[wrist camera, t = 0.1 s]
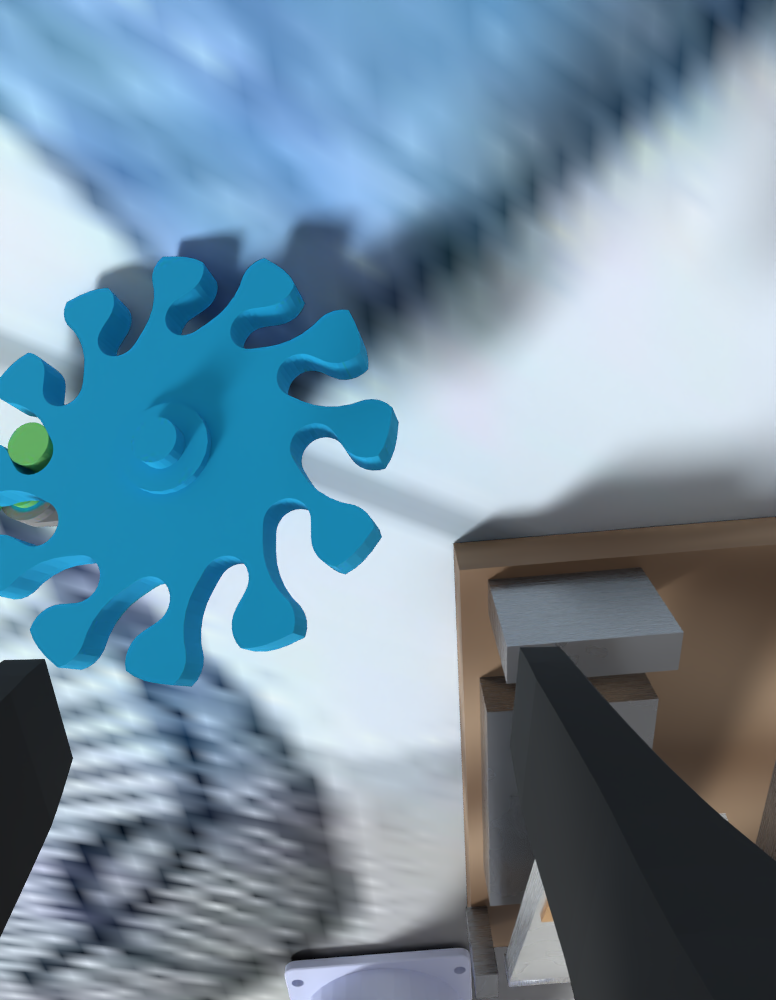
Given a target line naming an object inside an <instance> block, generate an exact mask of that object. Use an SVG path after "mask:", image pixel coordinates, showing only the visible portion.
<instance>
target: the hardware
mask: <svg viewBox="0 0 776 1000" xmlns="http://www.w3.org/2000/svg"><path fill="white" fill-rule="evenodd" d="M488 615H489V619H490V622H491V626H492V630H493V634H494V637H495V641H496V645H497V649H498V652H499V656H500V660H501V664H502V667H503V671H504V675H505V676H494V677H482V678H479V682H480V729H481V776H482V823H483V867H484V873H485V879H486V885H487V891H488V897H489V903H490V906H498V905H511V904H521V903H522V900H523V896H524V893H525V890H526V886H527V883H528V880H529V876H530V873H531V870H532V867H533V863H534V860H535V857H534V853H533V850H532V846H531V843H530V840H529V836H528V833H527V829H526V826H525V822H524V819H523V815H522V812H521V807H520V802H519V796H518V791H517V785H516V780H515V774H514V768H513V762H512V756H511V750H510V739H511V729H512V719H513V709H514V699H515V689H516V679H517V669H518V660H519V650H520V647H556V646H559V647H560V648H561V649H562V650H563V651H564V652H565V653H566V654H567V655H568V656H569V657H570V659H571V660H572V661H573V662H574V663H575V664H576V666H577V667H578V668H579V669H580V670H581V671H582V673H583V674H584V675H585V676H586V677H587V678H588V680H589V681H590V682H591V683H592V684H593V685H594V687H595V688H596V689H597V690H598V691H599V692H600V693H601V695H602V696H603V697H604V698H605V699H606V700H607V701H608V702H609V704H610V705H611V706H612V707H613V708H614V709H615V710H616V711H617V713H618V714H619V715H620V716H621V717H622V718H623V719H624V720H625V721H626V722H627V723H628V725H629V726H630V727H631V728H632V729H633V730H634V731H635V732H636V733H637V734H638V735H639V736H640V737H641V738H642V739H643V740H644V741H645V742H646V743H647V744H648V746H649V747H650V748H651V749H652V747H653V739H654V731H655V724H656V716H657V708H658V701H659V698H658V696H657V694H656V693H655V691H654V689H653V687H652V685H651V683H650V681H649V679H648V678H647V676H646V674H645V673H646V672H658V671H670V670H678V668H679V661H680V654H681V647H682V640H683V633H684V632H683V630H682V629H681V627H680V626H679V624H678V623H677V621H676V620H675V618H674V617H673V615H672V614H671V612H670V611H669V609H668V608H667V606H666V604H665V603H664V601H663V600H662V598H661V597H660V595H659V594H658V592H657V591H656V589H655V588H654V586H653V585H652V583H651V581H650V580H649V578H648V577H647V575H646V574H645V572H644V571H643V569H642V568H641V567H637V568H625V569H613V570H600V571H588V572H576V573H564V574H552V575H540V576H527V577H515V578H503V579H491V580H488ZM755 844H756V845H757V846H758V847H759V848H760V849H762V850H763V851H764V852H765V853H767V854H768V855H769V856H770V857H771V858H773V859H774V860H775V861H776V761H775V765H774V769H773V773H772V778H771V782H770V786H769V790H768V794H767V798H766V802H765V806H764V810H763V815H762V819H761V823H760V827H759V831H758V835H757V839H756V843H755ZM466 919H467V934H468V942H469V949H470V956H471V964H472V971H473V979H474V986H475V994H476V999H480V998H492V997H498V971H497V964H496V958H495V952H494V946H493V940H492V934H491V928H490V922H489V916H488V909H487V906H476V907H466Z"/></svg>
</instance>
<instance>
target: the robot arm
mask: <svg viewBox="0 0 776 1000" xmlns="http://www.w3.org/2000/svg"><path fill="white" fill-rule="evenodd" d="M510 750H511V756H512V762H513V768H514V774H515V780H516V785H517V791H518V796H519V802H520V807H521V812H522V815H523V819H524V822H525V826H526V829H527V833H528V836H529V840H530V843H531V846H532V850H533V853H534V857H535V860H536V864H537V867H538V870H539V874H540V877H541V881H542V884H543V887H544V891H545V894H546V897H547V901H548V904H549V908H550V911H551V914H552V918H553V921H554V925H555V928H556V931H557V935H558V938H559V942H560V945H561V948H562V952H563V955H564V958H565V962H566V966H567V970H568V974H569V978H570V982H571V986H572V990H573V993H574V998H575V1000H776V861H775V860H774V859H773V858H771V857H770V856H769V855H768V854H767V853H765V852H764V851H763V850H762V849H760V848H759V847H758V846H757V845H756V844H754V843H753V842H752V841H751V840H750V839H748V838H747V837H746V836H745V835H744V834H742V833H741V832H740V831H739V830H738V829H736V828H735V827H734V826H733V825H732V824H730V823H729V822H728V821H727V820H726V819H724V818H723V817H722V816H721V815H720V814H719V813H718V812H717V811H716V810H714V809H713V808H712V807H711V806H710V805H709V804H708V803H707V802H706V801H705V800H703V799H702V798H701V797H700V796H699V795H698V794H697V793H696V792H695V791H694V790H693V789H692V788H691V787H690V786H689V785H688V784H687V783H686V782H684V781H683V780H682V779H681V778H680V777H679V776H678V775H677V774H676V773H675V772H674V771H673V770H672V769H671V768H670V767H669V766H668V765H667V764H666V763H665V762H664V761H663V760H662V759H661V758H660V757H659V756H658V755H657V754H656V753H655V752H654V751H653V750H652V749H651V748H650V747H649V746H648V744H647V743H646V742H645V741H644V740H643V739H642V738H641V737H640V736H639V735H638V734H637V733H636V732H635V731H634V730H633V729H632V728H631V727H630V726H629V725H628V723H627V722H626V721H625V720H624V719H623V718H622V717H621V716H620V715H619V714H618V713H617V711H616V710H615V709H614V708H613V707H612V706H611V705H610V704H609V702H608V701H607V700H606V699H605V698H604V697H603V696H602V695H601V693H600V692H599V691H598V690H597V689H596V688H595V687H594V685H593V684H592V683H591V682H590V681H589V680H588V678H587V677H586V676H585V675H584V674H583V673H582V671H581V670H580V669H579V668H578V667H577V666H576V664H575V663H574V662H573V661H572V660H571V659H570V657H569V656H568V655H567V654H566V653H565V652H564V651H563V650H562V649H561V648H560V647H559V646H556V647H520V650H519V660H518V669H517V679H516V689H515V699H514V709H513V719H512V729H511V739H510ZM72 759H73V757H72V754H71V750H70V746H69V743H68V739H67V736H66V732H65V729H64V725H63V722H62V718H61V715H60V711H59V708H58V704H57V701H56V697H55V694H54V690H53V686H52V683H51V679H50V676H49V672H48V669H47V665H46V662H45V659H31V660H4V661H2V662H1V663H0V936H1V934H2V932H3V930H4V928H5V926H6V924H7V921H8V919H9V917H10V915H11V913H12V911H13V909H14V906H15V904H16V902H17V900H18V898H19V896H20V894H21V891H22V889H23V887H24V885H25V883H26V881H27V879H28V876H29V874H30V872H31V870H32V868H33V865H34V863H35V861H36V859H37V857H38V854H39V852H40V850H41V848H42V846H43V843H44V841H45V839H46V837H47V834H48V832H49V830H50V828H51V825H52V823H53V820H54V817H55V814H56V811H57V808H58V805H59V802H60V799H61V796H62V793H63V789H64V786H65V783H66V779H67V776H68V773H69V769H70V766H71V763H72ZM285 980H286V984H287V988H288V992H289V996H290V1000H472V980H471V959H470V953H469V951H467V950H466V949H464V948H447V949H435V950H422V951H410V952H397V953H385V954H372V955H360V956H347V957H335V958H322V959H310V960H297V961H291V962H290V963H288V964H287V965H286V967H285Z"/></svg>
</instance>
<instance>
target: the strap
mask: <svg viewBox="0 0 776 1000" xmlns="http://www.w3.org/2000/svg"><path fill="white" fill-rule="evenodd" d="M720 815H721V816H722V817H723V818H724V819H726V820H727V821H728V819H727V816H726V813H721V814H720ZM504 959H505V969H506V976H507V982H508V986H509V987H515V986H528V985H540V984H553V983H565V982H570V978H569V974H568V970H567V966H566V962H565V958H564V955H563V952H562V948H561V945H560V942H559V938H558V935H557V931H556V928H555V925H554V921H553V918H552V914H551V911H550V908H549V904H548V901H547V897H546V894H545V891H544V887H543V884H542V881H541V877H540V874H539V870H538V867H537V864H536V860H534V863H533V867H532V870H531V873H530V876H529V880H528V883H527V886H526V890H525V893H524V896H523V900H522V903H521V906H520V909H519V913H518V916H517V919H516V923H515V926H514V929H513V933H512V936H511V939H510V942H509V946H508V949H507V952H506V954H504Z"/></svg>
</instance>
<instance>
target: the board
mask: <svg viewBox="0 0 776 1000" xmlns="http://www.w3.org/2000/svg"><path fill="white" fill-rule="evenodd" d="M453 546H454V572H455V598H456V624H457V650H458V675H459V701H460V727H461V753H462V779H463V805H464V830H465V856H466V882H467V907H476V906H487V909H488V916H489V922H490V928H491V934H492V940H493V946H494V947H505V946H509V942H510V939H511V936H512V933H513V929H514V926H515V923H516V919H517V916H518V913H519V909H520V906H521V904H511V905H498V906H490V903H489V897H488V891H487V885H486V879H485V873H484V867H483V823H482V776H481V729H480V682H479V678H482V677H494V676H505V675H504V671H503V667H502V664H501V660H500V656H499V652H498V649H497V645H496V641H495V637H494V634H493V630H492V626H491V622H490V619H489V615H488V580H491V579H503V578H515V577H527V576H540V575H552V574H564V573H576V572H588V571H600V570H613V569H625V568H637V567H641V568H642V569H643V571H644V572H645V574H646V575H647V577H648V578H649V580H650V581H651V583H652V585H653V586H654V588H655V589H656V591H657V592H658V594H659V595H660V597H661V598H662V600H663V601H664V603H665V604H666V606H667V608H668V609H669V611H670V612H671V614H672V615H673V617H674V618H675V620H676V621H677V623H678V624H679V626H680V627H681V629H682V630H683V632H684V633H683V640H682V647H681V654H680V661H679V668H678V670H670V671H658V672H646V673H645V674H646V676H647V678H648V679H649V681H650V683H651V685H652V687H653V689H654V691H655V693H656V694H657V696H658V698H659V701H658V708H657V716H656V724H655V731H654V739H653V747H652V750H653V751H654V752H655V753H656V754H657V755H658V756H659V757H660V758H661V759H662V760H663V761H664V762H665V763H666V764H667V765H668V766H669V767H670V768H671V769H672V770H673V771H674V772H675V773H676V774H677V775H678V776H679V777H680V778H681V779H682V780H683V781H684V782H686V783H687V784H688V785H689V786H690V787H691V788H692V789H693V790H694V791H695V792H696V793H697V794H698V795H699V796H700V797H701V798H702V799H703V800H705V801H706V802H707V803H708V804H709V805H710V806H711V807H712V808H713V809H714V810H716V811H717V812H718V813H719V814H721V813H726V816H727V819H728V822H729V823H730V824H732V825H733V826H734V827H735V828H736V829H738V830H739V831H740V832H741V833H742V834H744V835H745V836H746V837H747V838H748V839H750V840H751V841H752V842H753V843H754V844H755V843H756V839H757V835H758V831H759V827H760V823H761V819H762V815H763V810H764V806H765V802H766V798H767V794H768V790H769V786H770V782H771V778H772V773H773V769H774V765H775V761H776V517H767V518H755V519H743V520H731V521H719V522H707V523H695V524H682V525H670V526H658V527H646V528H634V529H622V530H610V531H598V532H585V533H573V534H561V535H549V536H537V537H525V538H513V539H500V540H488V541H476V542H464V543H453Z"/></svg>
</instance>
